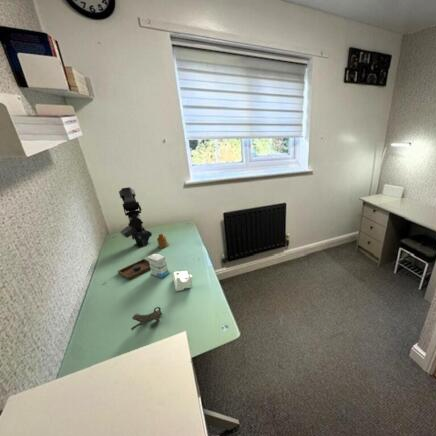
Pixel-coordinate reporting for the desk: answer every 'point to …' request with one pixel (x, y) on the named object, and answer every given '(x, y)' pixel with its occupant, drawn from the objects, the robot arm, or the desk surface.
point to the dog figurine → (147, 318)
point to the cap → (137, 267)
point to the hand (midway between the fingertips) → (141, 243)
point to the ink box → (158, 265)
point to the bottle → (162, 241)
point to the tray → (129, 271)
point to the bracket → (182, 280)
